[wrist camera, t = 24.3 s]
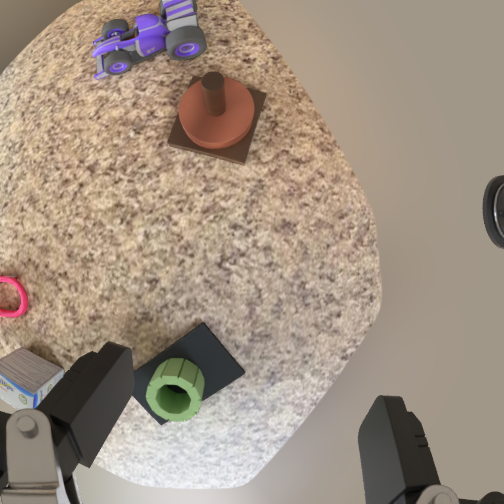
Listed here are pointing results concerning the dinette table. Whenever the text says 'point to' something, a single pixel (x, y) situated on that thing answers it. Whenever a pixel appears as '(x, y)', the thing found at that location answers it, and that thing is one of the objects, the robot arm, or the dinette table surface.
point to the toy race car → (150, 38)
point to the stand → (217, 118)
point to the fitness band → (22, 294)
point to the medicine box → (26, 378)
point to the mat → (199, 353)
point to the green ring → (169, 401)
